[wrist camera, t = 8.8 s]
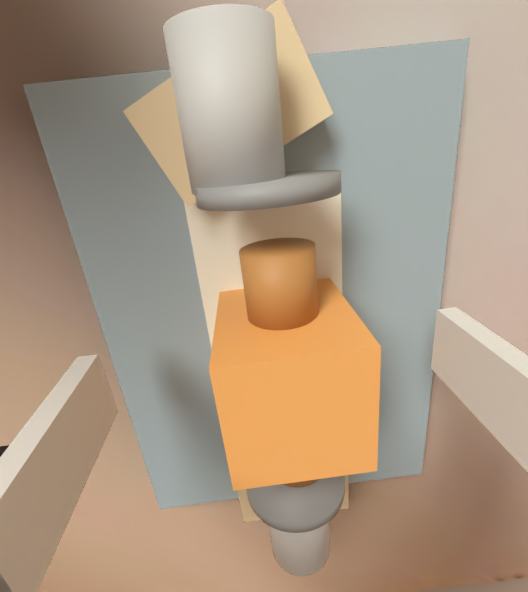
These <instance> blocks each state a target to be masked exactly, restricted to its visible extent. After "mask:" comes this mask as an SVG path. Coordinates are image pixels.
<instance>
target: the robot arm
mask: <svg viewBox="0 0 528 592" xmlns="http://www.w3.org/2000/svg"><path fill="white" fill-rule="evenodd" d="M431 369H432V370H433V371H434V372H435V373H436V375H437V376H438V377H439V378H440V379H441V380H442V381H443V382H444V383H445V384H446V385H447V386H448V387H449V388H450V390H451V391H452V392H453V393H454V394H455V395H456V396H457V397H458V398H459V399H460V400H461V401H462V402H463V404H464V405H465V406H466V407H467V408H468V409H469V410H470V411H471V412H472V413H473V414H474V415H475V416H476V418H477V419H478V420H479V421H480V422H481V423H482V424H483V425H484V426H485V427H486V428H487V429H488V430H489V432H490V433H491V434H492V435H493V436H494V437H495V438H496V439H497V440H498V441H499V442H500V443H501V444H502V445H503V447H504V448H505V449H506V450H507V451H508V452H509V453H510V454H511V455H512V456H513V457H514V458H515V459H516V461H517V462H518V463H519V464H520V465H521V466H522V467H523V468H524V469H525V470H526V471H527V472H528V356H527V355H526V354H524V353H523V352H521V351H520V350H518V349H517V348H515V347H514V346H512V345H511V344H510V343H508V342H507V341H505V340H504V339H502V338H501V337H499V336H498V335H496V334H495V333H493V332H492V331H490V330H489V329H487V328H486V327H485V326H483V325H482V324H480V323H479V322H477V321H476V320H474V319H473V318H471V317H470V316H468V315H467V314H465V313H464V312H462V311H461V310H460V309H458V308H457V307H454V308H446V309H438V310H437V316H436V325H435V334H434V343H433V353H432V362H431ZM117 412H118V411H117V408H116V405H115V402H114V399H113V396H112V393H111V390H110V387H109V384H108V381H107V379H106V376H105V373H104V370H103V367H102V364H101V361H100V358H99V355H98V354H95V355H87V356H80V357H77V358H76V359H75V361H74V362H73V363H72V365H71V366H70V367H69V369H68V370H67V371H66V372H65V374H64V375H63V376H62V378H61V379H60V380H59V382H58V383H57V384H56V385H55V387H54V388H53V389H52V391H51V392H50V393H49V395H48V396H47V397H46V398H45V400H44V401H43V402H42V404H41V405H40V406H39V408H38V409H37V410H36V411H35V413H34V414H33V415H32V417H31V418H30V419H29V421H28V422H27V423H26V424H25V426H24V427H23V428H22V430H21V431H20V432H19V434H18V435H17V436H16V437H15V439H14V440H13V441H12V443H11V444H10V445H8V446H1V447H0V592H37V591H38V589H39V586H40V584H41V582H42V580H43V578H44V575H45V573H46V571H47V569H48V566H49V564H50V562H51V560H52V557H53V555H54V553H55V551H56V548H57V546H58V544H59V542H60V540H61V537H62V535H63V533H64V531H65V528H66V526H67V524H68V522H69V519H70V517H71V515H72V513H73V511H74V508H75V506H76V504H77V502H78V499H79V497H80V495H81V493H82V490H83V488H84V486H85V484H86V481H87V479H88V477H89V475H90V473H91V470H92V468H93V466H94V464H95V461H96V459H97V457H98V455H99V452H100V450H101V448H102V446H103V443H104V441H105V439H106V437H107V435H108V432H109V430H110V428H111V426H112V423H113V421H114V419H115V417H116V414H117Z"/></svg>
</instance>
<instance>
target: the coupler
mask: <svg viewBox="0 0 528 592" xmlns="http://www.w3.org/2000/svg"><path fill="white" fill-rule="evenodd" d="M239 257H240V264H241V271H242V279H243V286H244V289H236V290H228V291H220V292H219V299H218V306H217V314H216V321H215V328H214V335H213V342H212V349H211V357H210V364H209V373H210V377H211V382H212V387H213V392H214V397H215V402H216V407H217V412H218V417H219V422H220V427H221V432H222V437H223V442H224V447H225V452H226V457H227V462H228V467H229V472H230V477H231V482H232V487H233V491H236V490H243V489H250V488H258V487H265V486H272V485H279V484H283V485H285V486H288V487H294V488H299V487H306V486H309V485H311V484H313V483H315V482H316V481H317V480H319V479H323V478H330V477H337V476H345V475H352V474H359V473H366V472H374V471H377V460H378V429H379V398H380V368H381V346H380V344H379V343H378V342H377V340H376V339H375V338H374V336H373V335H372V334H371V332H370V331H369V330H368V328H367V327H366V326H365V324H364V323H363V322H362V320H361V319H360V318H359V316H358V315H357V314H356V312H355V311H354V310H353V308H352V307H351V306H350V304H349V303H348V302H347V300H346V299H345V298H344V296H343V295H342V294H341V292H340V291H339V290H338V288H337V287H336V286H335V284H334V283H333V282H332V280H331V279H330V278H325V279H317V269H316V249H315V243H314V242H313V241H311V240H308V239H303V238H274V239H267V240H262V241H257V242H254V243H251V244H248V245H246V246H244V247H242V248H241V249H240V250H239Z"/></svg>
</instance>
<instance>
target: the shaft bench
mask: <svg viewBox="0 0 528 592" xmlns="http://www.w3.org/2000/svg"><path fill="white" fill-rule="evenodd" d="M163 33H164V39H165V45H166V50H167V56H168V62H169V67H170V69H167V70H157V71H147V72H137V73H128V74H118V75H108V76H99V77H89V78H79V79H70V80H60V81H50V82H40V83H31V84H22V85H23V88H24V91H25V94H26V97H27V100H28V103H29V106H30V109H31V112H32V115H33V119H34V122H35V125H36V128H37V131H38V134H39V137H40V140H41V143H42V146H43V149H44V152H45V156H46V159H47V162H48V165H49V168H50V171H51V174H52V177H53V180H54V183H55V186H56V190H57V193H58V196H59V199H60V202H61V205H62V208H63V211H64V214H65V217H66V220H67V224H68V227H69V230H70V233H71V236H72V239H73V242H74V245H75V248H76V251H77V254H78V257H79V261H80V264H81V267H82V270H83V273H84V276H85V279H86V282H87V285H88V288H89V291H90V295H91V298H92V301H93V304H94V307H95V310H96V313H97V316H98V319H99V322H100V325H101V328H102V332H103V335H104V338H105V341H106V344H107V347H108V350H109V353H110V356H111V359H112V362H113V366H114V369H115V372H116V375H117V378H118V381H119V384H120V387H121V390H122V393H123V396H124V400H125V403H126V406H127V409H128V412H129V415H130V418H131V421H132V424H133V427H134V430H135V433H136V437H137V440H138V443H139V446H140V449H141V452H142V455H143V458H144V461H145V464H146V467H147V471H148V474H149V477H150V480H151V483H152V486H153V489H154V492H155V495H156V498H157V501H158V505H159V508H160V509H166V508H173V507H180V506H188V505H195V504H203V503H210V502H217V501H225V500H232V499H239V502H240V508H241V513H242V518H243V523H245V522H253V521H260V520H262V521H263V522H264V523H266V524H267V525H269V529H270V535H271V542H272V549H273V554H274V557H275V559H276V561H277V563H278V564H279V565H280V566H281V567H282V568H283V569H284V570H285V571H286V572H288V573H290V574H292V575H296V576H309V575H312V574H314V573H316V572H317V571H319V570H320V569H321V568H322V567H323V566H324V564H325V563H326V561H327V559H328V556H329V552H330V540H329V521H330V520H331V519H332V518H333V517H334V516H335V515H336V514H337V512H338V511H339V510H340V509H347V508H349V494H348V484H350V483H358V482H365V481H372V480H380V479H387V478H395V477H402V476H409V475H417V474H422V469H423V460H424V451H425V442H426V433H427V424H428V414H429V405H430V396H431V387H432V378H433V370H432V369H431V362H432V353H433V343H434V334H435V325H436V316H437V310H438V309H440V304H441V295H442V286H443V277H444V268H445V259H446V249H447V240H448V231H449V222H450V213H451V204H452V194H453V185H454V176H455V167H456V158H457V149H458V139H459V130H460V121H461V112H462V103H463V94H464V84H465V75H466V66H467V57H468V48H469V39H470V38H467V39H457V40H448V41H438V42H428V43H419V44H409V45H399V46H390V47H380V48H370V49H360V50H351V51H341V52H331V53H322V54H312V55H307V54H306V51H305V49H304V47H303V45H302V42H301V40H300V38H299V36H298V34H297V31H296V29H295V27H294V25H293V22H292V20H291V18H290V16H289V14H288V11H287V9H286V7H285V5H284V2H283V0H277V1H276V2H274V3H273V4H272V5H270V6H269V7H268V8H266V9H263V8H260V7H256V6H251V5H244V4H216V5H208V6H202V7H197V8H193V9H190V10H187V11H184V12H181V13H179V14H177V15H175V16H173V17H171V18H170V19H169V20H167V21H166V23H165V24H164V26H163ZM274 238H303V239H308V240H311V241H313V242H314V243H315V249H316V269H317V279H325V278H330V279H331V280H332V282H333V283H334V284H335V286H336V287H337V288H338V290H339V291H340V292H341V294H342V295H343V296H344V298H345V299H346V300H347V302H348V303H349V304H350V306H351V307H352V308H353V310H354V311H355V312H356V314H357V315H358V316H359V318H360V319H361V320H362V322H363V323H364V324H365V326H366V327H367V328H368V330H369V331H370V332H371V334H372V335H373V336H374V338H375V339H376V340H377V342H378V343H379V344H380V346H381V368H380V398H379V429H378V460H377V471H374V472H366V473H359V474H352V475H345V476H337V477H330V478H323V479H319V480H317V481H316V482H315V483H313V484H311V485H309V486H306V487H299V488H294V487H288V486H285V485H283V484H279V485H272V486H265V487H258V488H250V489H243V490H236V491H233V487H232V482H231V477H230V472H229V467H228V462H227V457H226V452H225V447H224V442H223V437H222V432H221V427H220V422H219V417H218V412H217V407H216V402H215V397H214V392H213V387H212V382H211V377H210V373H209V364H210V357H211V349H212V342H213V335H214V328H215V321H216V314H217V306H218V299H219V292H220V291H228V290H236V289H244V286H243V279H242V271H241V264H240V257H239V250H240V249H241V248H242V247H244V246H246V245H248V244H251V243H254V242H257V241H262V240H267V239H274Z"/></svg>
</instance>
